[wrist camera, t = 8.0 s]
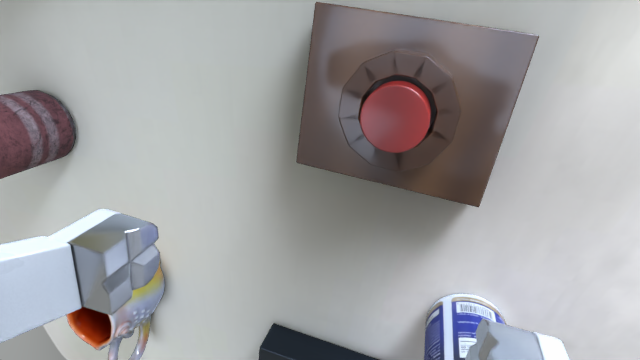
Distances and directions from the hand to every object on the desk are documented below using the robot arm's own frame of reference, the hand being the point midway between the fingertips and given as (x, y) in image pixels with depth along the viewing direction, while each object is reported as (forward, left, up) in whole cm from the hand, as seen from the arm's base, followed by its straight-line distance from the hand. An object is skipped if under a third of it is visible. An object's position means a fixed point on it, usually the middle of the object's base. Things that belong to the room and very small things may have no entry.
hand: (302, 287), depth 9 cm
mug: (+20, +23, -18) cm, 35 cm away
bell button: (-1, -1, -14) cm, 14 cm away
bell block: (-1, -1, -18) cm, 18 cm away
